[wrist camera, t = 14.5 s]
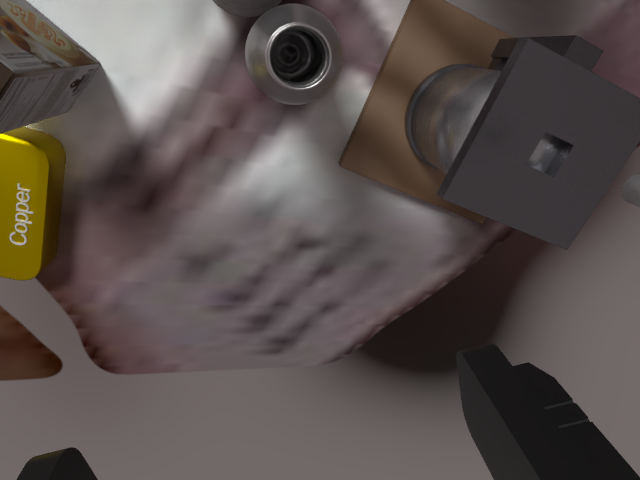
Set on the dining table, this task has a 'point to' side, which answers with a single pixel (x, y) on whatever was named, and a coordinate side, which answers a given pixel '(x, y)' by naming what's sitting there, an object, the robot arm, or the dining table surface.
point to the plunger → (632, 190)
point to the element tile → (29, 201)
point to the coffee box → (37, 66)
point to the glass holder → (247, 6)
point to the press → (526, 134)
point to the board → (397, 88)
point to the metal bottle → (293, 54)
